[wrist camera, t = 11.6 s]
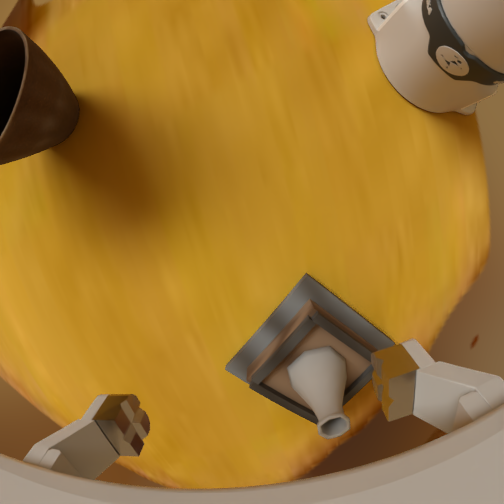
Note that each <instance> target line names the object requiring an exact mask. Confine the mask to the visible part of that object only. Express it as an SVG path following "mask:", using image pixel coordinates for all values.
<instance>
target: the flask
mask: <svg viewBox="0 0 504 504" xmlns="http://www.w3.org/2000/svg"><path fill="white" fill-rule="evenodd" d="M287 369H288V374H289V379H290V384H291V387H292V388H293V389H294V390H295V391H296V392H297V393H298V394H299V395H300V396H301V397H302V398H303V399H304V400H305V402H306V403H307V404H308V405H309V406H310V407H311V408H312V409H313V411H314V413H315V415H316V417H317V418H318V421H319V422H318V423H317V427H318V433H319V435H320V436H322V437H324V438H326V439H331V438H335V437H339V436H341V435H343V434H344V433H345V432H347V431H348V430H349V429H350V419H349V417H347V416H346V415H345V414H344V411H343V407H342V403H343V396H344V390H345V385H346V380H347V372H346V361H345V358H344V357H343V356H342V355H340V354H339V353H338V352H337V351H335V350H334V349H333V348H331V347H330V346H326V347H322V348H317V349H313V350H308V351H304V352H303V353H302V354H301V355H300V356H299V357H298V358H297V359H296V360H295V361H294V362H293V363H292V364H291V365H289V366H288V367H287Z"/></svg>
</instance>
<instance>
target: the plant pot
mask: <svg viewBox="0 0 504 504" xmlns="http://www.w3.org/2000/svg"><path fill="white" fill-rule="evenodd" d="M78 117H79V105H78V101H77V99H76V97H75V95H74V93H73V91H72V89H71V87H70V86H69V84H68V82H67V81H66V79H65V78H64V76H63V75H62V73H61V72H60V71H59V69H58V68H57V67H56V65H55V64H54V63H53V62H52V61H51V59H50V58H49V57H48V56H47V55H46V54H45V53H44V52H43V50H42V49H41V48H40V47H39V46H38V45H37V44H35V43H34V42H33V41H32V40H31V39H30V38H29V37H28V36H27V35H26V34H24V33H23V32H22V31H21V30H20V29H18V28H16V27H3V28H0V165H2V164H5V163H9V162H12V161H16V160H19V159H22V158H25V157H28V156H31V155H34V154H36V153H39V152H41V151H44V150H46V149H48V148H51V147H53V146H55V145H57V144H59V143H61V142H63V141H64V140H65V139H66V138H68V136H69V135H70V134H71V133H72V131H73V130H74V128H75V126H76V124H77V121H78Z"/></svg>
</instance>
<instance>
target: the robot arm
mask: <svg viewBox="0 0 504 504" xmlns="http://www.w3.org/2000/svg"><path fill="white" fill-rule="evenodd" d="M381 17H383V18H384V19H382V18H381ZM368 24H369V26H370V28H371V30H372V32H373V33H374V35H375V39H376V50H377V56H378V59H379V62H380V65H381V67H382V69H383V72H384V73H385V75H386V77H387V78H388V80H389V81H390V83H391V84H392V85H393V86H394V88H395V89H396V90H397V91H398V92H399V93H400V94H401V95H402V96H403V97H404V98H406V99H407V100H408V101H410V102H411V103H412V104H414V105H416V106H417V107H419V108H421V109H424V110H427V111H430V112H435V113H444V112H449V111H456V112H458V113H461V114H464V115H470V114H472V113H474V111H475V108H476V105H477V102H480V101H482V100H484V99H486V98H489V97H491V96H493V95H495V94H496V93H497V87H498V84H500V83H504V0H396V1H394V2H392V3H390V4H388V5H386V6H385V7H383V8H381V9H379V10H377V11H375V12H374V13H372V14H371V15H370V16H369V17H368ZM371 364H372V366H373V368H374V371H373V373H372V382H373V387H374V391H375V394H376V396H377V399H378V400H379V401H382V409H383V411H384V414H385V415H386V418H387V420H388V422H389V421H392V420H395V419H399V418H402V417H405V416H408V415H411V414H413V415H415V416H416V417H418V418H420V419H422V420H424V421H425V422H427V423H429V424H431V425H433V426H435V427H437V428H438V429H440V430H442V431H444V432H446V433H448V434H447V435H444V436H442V437H440V438H438V439H435V440H433V441H431V442H428V443H426V444H424V445H421V446H419V447H416V448H414V449H411V450H408V451H406V452H403V453H400V454H397V455H395V456H392V457H389V458H386V459H383V460H379V461H376V462H373V463H370V464H367V465H363V466H360V467H356V468H352V469H348V470H344V471H341V472H336V473H332V474H327V475H323V476H318V477H313V478H308V479H302V480H296V481H290V482H283V483H276V484H268V485H259V486H248V487H235V488H214V489H179V488H158V487H145V486H135V485H126V484H118V483H111V482H105V481H99V480H94V479H95V478H96V477H98V476H99V475H100V474H101V473H102V472H103V471H104V470H105V469H107V468H108V467H109V466H110V465H111V464H112V463H113V462H114V461H115V460H117V459H118V458H119V457H120V456H139V455H140V452H141V450H142V448H143V445H144V442H143V440H142V439H144V438H145V437H146V436H147V435H148V433H149V430H150V422H149V418H148V416H147V414H146V412H145V411H144V410H142V409H141V408H139V406H140V402H139V400H138V398H137V397H136V396H135V395H133V394H111V395H110V394H101V395H98V396H97V397H96V399H95V400H94V401H93V403H92V404H91V406H90V407H89V409H88V410H87V411H86V413H85V414H84V416H83V417H82V419H81V420H79V419H78V420H76V421H74V422H73V423H71V424H69V425H68V426H66V427H64V428H62V429H61V430H59V431H57V432H56V433H54V434H52V435H50V436H48V437H47V438H45V439H43V440H41V441H40V442H38V443H36V444H35V445H34V446H33V447H32V449H31V450H30V451H29V453H28V454H27V456H26V457H25V458H24V460H23V461H20V460H17V459H14V458H11V457H8V456H6V455H3V454H1V453H0V504H504V381H503V379H502V378H501V377H500V376H497V375H493V374H488V373H484V372H480V371H476V370H472V369H468V368H464V367H460V366H456V365H452V364H448V363H444V362H441V361H439V362H435V361H434V360H433V359H432V358H431V357H430V355H429V354H428V353H427V352H426V351H425V350H424V349H423V347H422V346H421V345H420V344H419V343H418V342H417V341H416V339H410V340H407V341H405V342H402V343H400V344H398V345H395V346H392V347H389V348H386V349H382V350H379V351H376V352H373V353H371Z"/></svg>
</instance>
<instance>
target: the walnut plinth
mask: <svg viewBox="0 0 504 504" xmlns="http://www.w3.org/2000/svg"><path fill="white" fill-rule="evenodd" d="M394 344H395V343H394V342H393V341H392V340H391V339H390V338H389V337H387V336H386V335H385V334H384V333H382V332H381V331H380V330H379V329H377V328H376V327H375V326H374V325H372V324H371V323H370V322H368V321H367V320H366V319H365V318H363V317H362V316H361V315H360V314H358V313H357V312H356V311H355V310H353V309H352V308H351V307H349V306H348V305H347V304H346V303H344V302H343V301H342V300H340V299H339V298H338V297H337V296H335V295H334V294H333V293H332V292H330V291H329V290H328V289H326V288H325V287H324V286H323V285H321V284H320V283H319V282H317V281H316V280H315V279H314V278H312V277H311V276H310V275H308V274H307V273H306V274H305V275H304V276H303V277H302V279H301V280H300V281H299V282H298V283H297V285H296V286H295V287H294V288H293V289H292V291H291V292H290V293H289V294H288V295H287V297H286V298H285V299H284V300H283V301H282V302H281V304H280V305H279V306H278V307H277V308H276V309H275V311H274V312H273V313H272V314H271V315H270V316H269V318H268V319H267V320H266V321H265V322H264V323H263V325H262V326H261V327H260V328H259V329H258V330H257V331H256V333H255V334H254V335H253V336H252V337H251V338H250V339H249V340H248V342H247V343H246V344H245V345H244V346H243V347H242V348H241V349H240V350H239V352H238V353H237V354H236V355H235V356H234V357H233V358H232V359H231V360H230V362H229V363H228V364H227V365H226V368H225V370H227V371H228V372H230V373H232V374H233V375H235V376H236V377H238V378H240V379H241V380H243V381H245V382H246V383H248V384H250V388H251V389H252V390H254V391H256V392H257V393H259V394H261V395H263V396H264V397H266V398H268V399H270V400H271V401H273V402H275V403H277V404H279V405H280V406H282V407H284V408H286V409H288V410H290V411H292V412H294V413H295V414H297V415H299V416H301V417H303V418H305V419H307V420H309V421H311V422H313V423H315V424H317V423H318V422H319V421H318V418H317V417H316V415H315V413H314V411H313V409H312V408H311V407H310V406H309V405H308V404H307V403H306V402H305V400H304V399H303V398H302V397H301V396H300V395H299V394H298V393H297V392H296V391H295V390H294V389H293V388H292V387H291V384H290V379H289V374H288V369H287V367H288V366H289V365H291V364H292V363H293V362H294V361H295V360H296V359H297V358H298V357H299V356H300V355H301V354H302V353H303V352H304V351H308V350H313V349H317V348H322V347H326V346H330V347H331V348H333V349H334V350H335V351H337V352H338V353H339V354H340V355H342V356H343V357H344V358H345V361H346V372H347V380H346V385H345V390H344V396H343V403H342V406H343V405H344V404H346V403H347V402H348V401H349V400H350V399H351V398H352V397H353V396H354V395H355V394H356V393H357V392H358V391H360V390H361V389H362V388H363V387H364V386H365V385H366V384H367V383H368V382H369V381H370V380H371V379H372V373H373V371H374V368H373V366H372V364H371V353H373V352H376V351H379V350H382V349H386V348H389V347H392V346H393V345H394Z"/></svg>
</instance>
